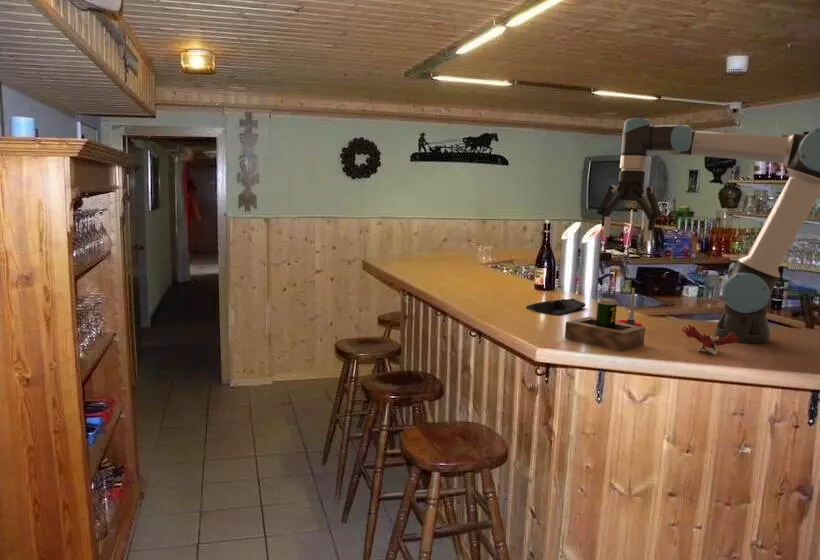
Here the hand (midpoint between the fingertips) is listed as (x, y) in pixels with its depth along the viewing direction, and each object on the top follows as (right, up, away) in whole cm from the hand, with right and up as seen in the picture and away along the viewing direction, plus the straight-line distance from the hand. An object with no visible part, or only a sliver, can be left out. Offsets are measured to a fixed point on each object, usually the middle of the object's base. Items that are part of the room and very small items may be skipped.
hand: (626, 239), depth 198 cm
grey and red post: (+4, -28, +11) cm, 30 cm away
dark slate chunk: (-14, -24, +33) cm, 44 cm away
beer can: (-11, -30, -14) cm, 35 cm away
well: (-11, -31, -14) cm, 35 cm away
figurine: (+16, -33, -21) cm, 42 cm away
